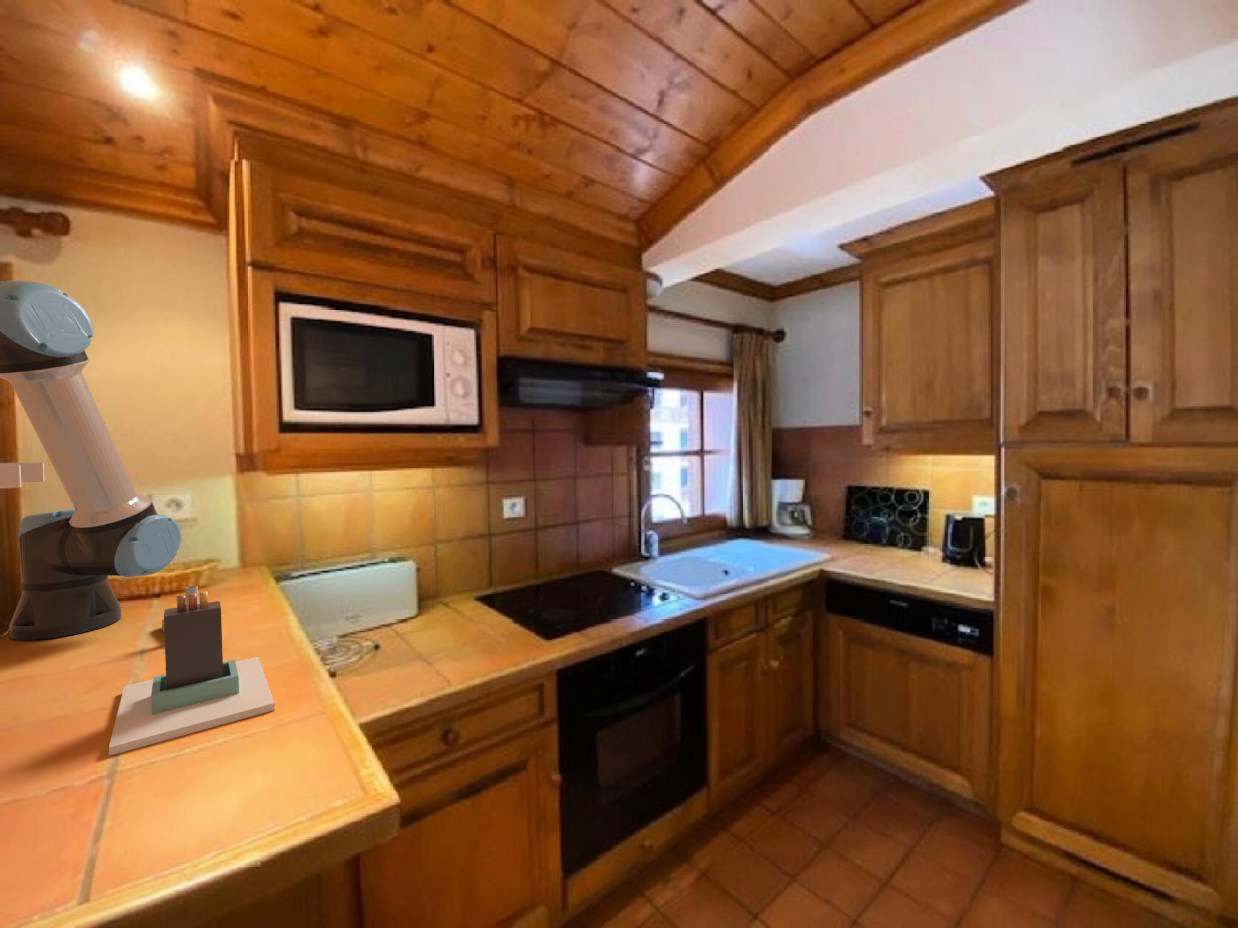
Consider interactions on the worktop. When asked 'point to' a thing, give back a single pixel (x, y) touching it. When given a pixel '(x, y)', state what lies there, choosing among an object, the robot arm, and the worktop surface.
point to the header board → (189, 705)
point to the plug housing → (193, 641)
